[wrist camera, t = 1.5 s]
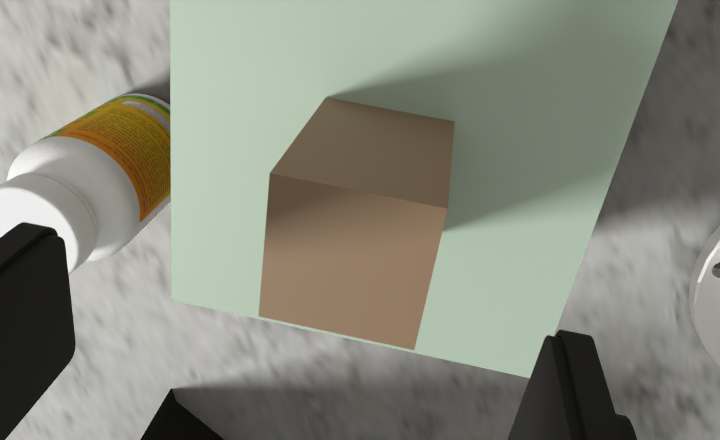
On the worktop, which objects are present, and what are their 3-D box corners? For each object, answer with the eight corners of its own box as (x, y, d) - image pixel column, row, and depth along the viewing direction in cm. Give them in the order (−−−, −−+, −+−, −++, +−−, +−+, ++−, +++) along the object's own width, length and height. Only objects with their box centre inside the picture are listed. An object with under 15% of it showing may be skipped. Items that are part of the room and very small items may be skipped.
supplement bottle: (120, 68, 29) (-23, 138, 21) (218, 132, 30) (118, 224, 22) (83, 154, 32) (-58, 247, 23) (174, 211, 33) (69, 322, 24)
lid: (676, -30, 17) (794, 11, 11) (535, 361, 24) (557, 525, 17) (183, -112, 18) (33, -117, 12) (182, 285, 25) (85, 414, 18)
